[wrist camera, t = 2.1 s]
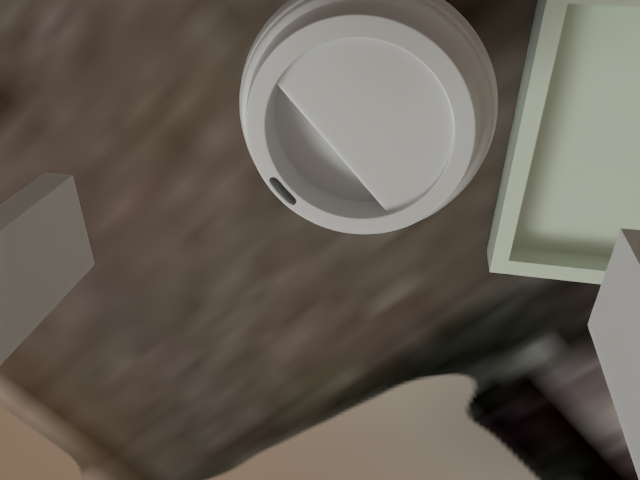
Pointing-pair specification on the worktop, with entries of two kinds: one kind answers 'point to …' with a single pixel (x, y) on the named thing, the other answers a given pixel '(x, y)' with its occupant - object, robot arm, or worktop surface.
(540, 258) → the tray
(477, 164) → the coffee cup
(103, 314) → the worktop surface
